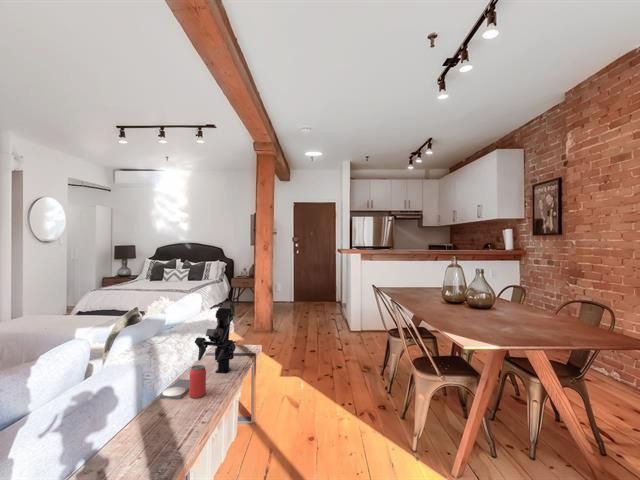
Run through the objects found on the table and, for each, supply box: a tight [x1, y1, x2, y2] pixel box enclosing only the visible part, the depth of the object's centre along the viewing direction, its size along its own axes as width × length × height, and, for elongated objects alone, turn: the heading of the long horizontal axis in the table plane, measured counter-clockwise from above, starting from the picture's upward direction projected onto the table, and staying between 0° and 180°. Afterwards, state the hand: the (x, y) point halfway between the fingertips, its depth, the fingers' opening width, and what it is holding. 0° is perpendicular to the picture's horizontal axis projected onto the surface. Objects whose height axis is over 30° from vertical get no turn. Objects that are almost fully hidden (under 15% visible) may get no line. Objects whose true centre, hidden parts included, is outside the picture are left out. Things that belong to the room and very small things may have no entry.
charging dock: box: [159, 378, 190, 400], centre depth 150 cm, size 18×9×2 cm, turn 179°
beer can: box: [188, 364, 207, 399], centre depth 145 cm, size 7×7×12 cm
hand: (207, 361), depth 152 cm, fingers open, 9 cm apart
